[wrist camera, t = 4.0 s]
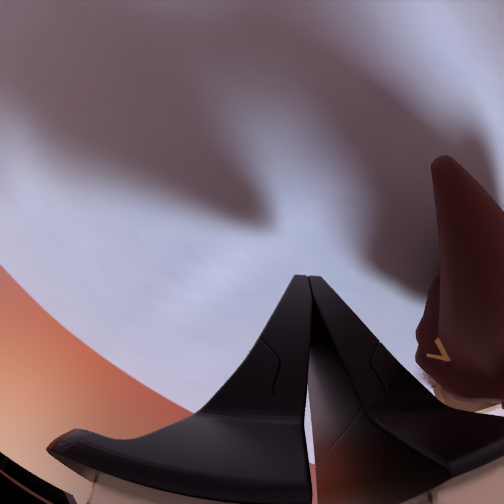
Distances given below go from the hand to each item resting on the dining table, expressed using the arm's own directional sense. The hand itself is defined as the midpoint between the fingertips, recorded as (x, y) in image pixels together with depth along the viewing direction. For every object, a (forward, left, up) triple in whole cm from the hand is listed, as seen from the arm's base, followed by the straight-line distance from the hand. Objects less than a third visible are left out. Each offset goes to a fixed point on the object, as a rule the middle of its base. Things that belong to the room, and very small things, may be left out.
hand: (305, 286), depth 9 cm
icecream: (-8, 0, -2) cm, 8 cm away
